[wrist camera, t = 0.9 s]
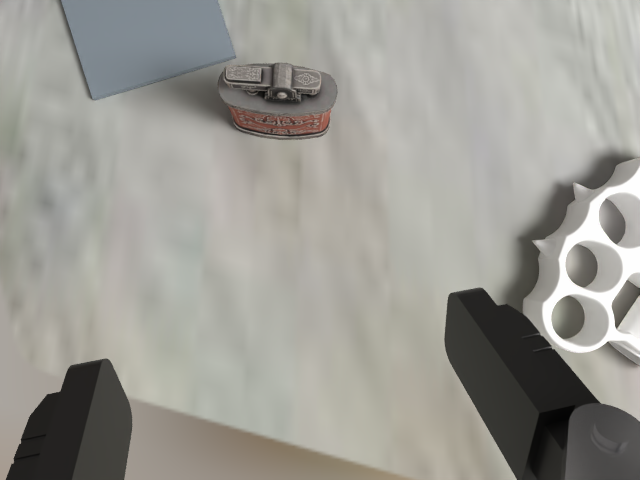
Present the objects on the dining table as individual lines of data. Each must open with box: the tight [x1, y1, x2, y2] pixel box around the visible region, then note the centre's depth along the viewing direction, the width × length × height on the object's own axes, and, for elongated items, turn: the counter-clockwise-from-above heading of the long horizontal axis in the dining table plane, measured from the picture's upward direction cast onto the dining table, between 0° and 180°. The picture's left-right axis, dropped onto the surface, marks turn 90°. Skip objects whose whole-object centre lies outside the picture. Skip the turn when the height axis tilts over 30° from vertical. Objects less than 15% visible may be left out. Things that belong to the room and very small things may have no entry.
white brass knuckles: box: [523, 157, 640, 366], centre depth 39 cm, size 3×18×15 cm
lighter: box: [218, 63, 337, 140], centre depth 35 cm, size 8×3×10 cm, turn 87°
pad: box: [61, 0, 236, 100], centre depth 39 cm, size 12×12×1 cm
